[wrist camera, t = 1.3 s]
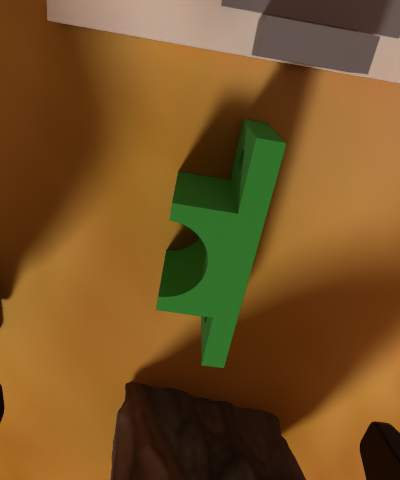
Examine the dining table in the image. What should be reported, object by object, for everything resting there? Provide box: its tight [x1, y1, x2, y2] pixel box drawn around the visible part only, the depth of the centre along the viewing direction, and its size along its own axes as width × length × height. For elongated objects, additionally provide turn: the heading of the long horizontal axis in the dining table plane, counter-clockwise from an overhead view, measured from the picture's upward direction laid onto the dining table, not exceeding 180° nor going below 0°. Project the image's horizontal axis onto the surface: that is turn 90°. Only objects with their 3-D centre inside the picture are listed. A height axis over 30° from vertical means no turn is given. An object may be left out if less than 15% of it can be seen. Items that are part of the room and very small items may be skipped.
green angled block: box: [156, 119, 287, 368], centre depth 17 cm, size 11×4×5 cm, turn 170°
